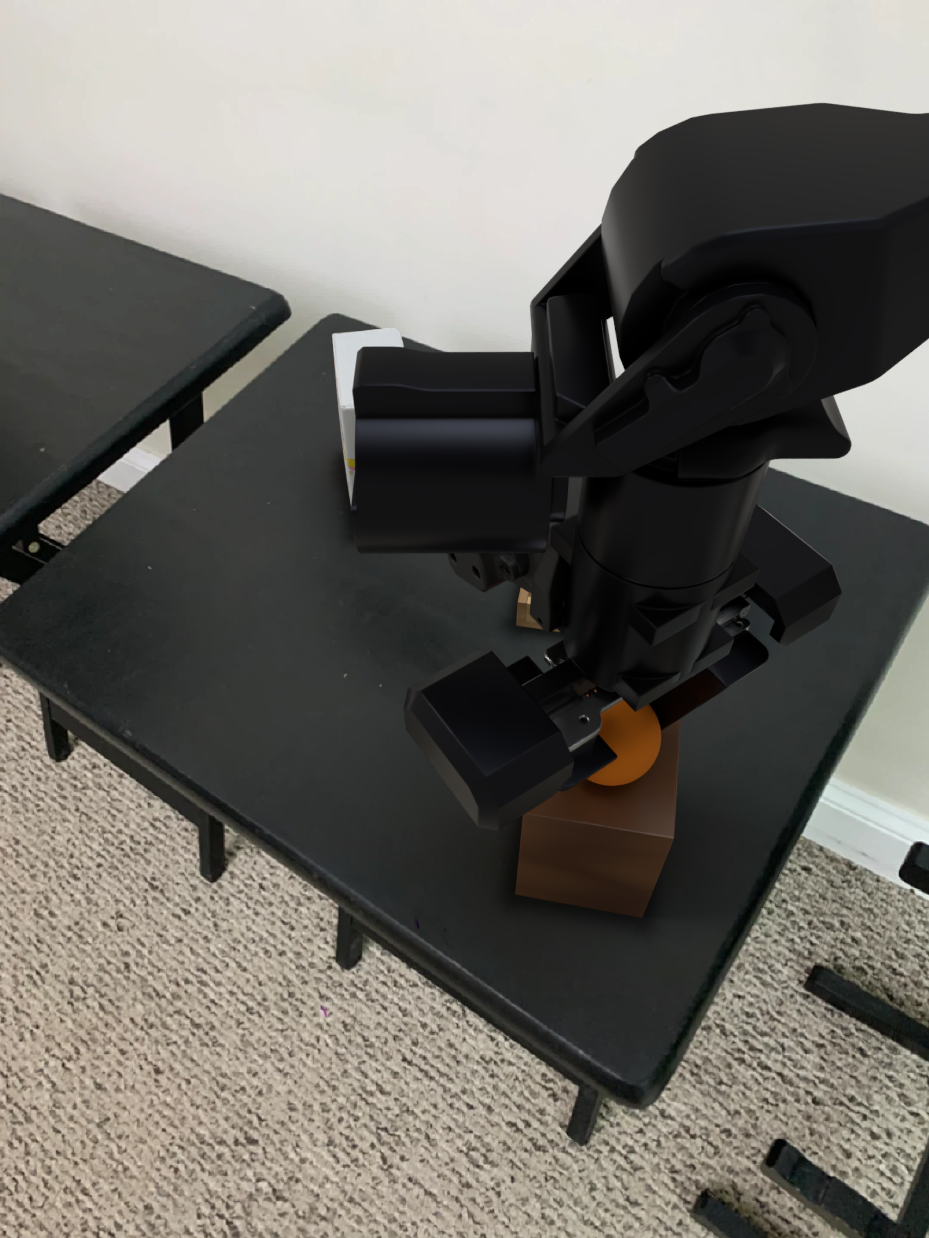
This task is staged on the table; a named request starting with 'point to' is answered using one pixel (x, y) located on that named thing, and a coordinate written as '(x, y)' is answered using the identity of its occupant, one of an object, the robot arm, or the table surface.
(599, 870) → the brown wooden block
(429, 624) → the table surface
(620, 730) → the clementine
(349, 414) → the ink box
